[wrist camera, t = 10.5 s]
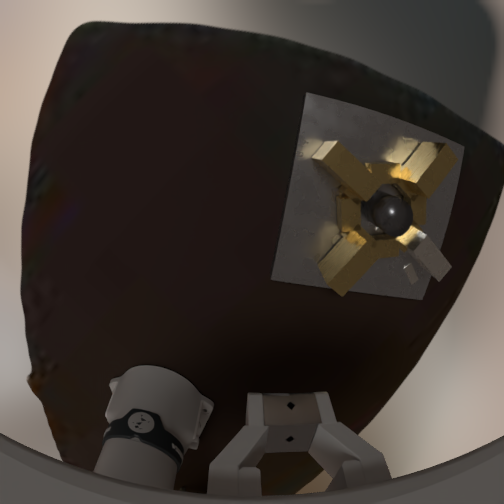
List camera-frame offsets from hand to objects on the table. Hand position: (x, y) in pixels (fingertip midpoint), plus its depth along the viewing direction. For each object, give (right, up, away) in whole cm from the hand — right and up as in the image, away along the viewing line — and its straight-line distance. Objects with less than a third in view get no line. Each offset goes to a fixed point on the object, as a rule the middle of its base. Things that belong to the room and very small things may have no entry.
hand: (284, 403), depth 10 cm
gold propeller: (+14, +11, +22) cm, 28 cm away
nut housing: (+14, +12, +24) cm, 30 cm away
